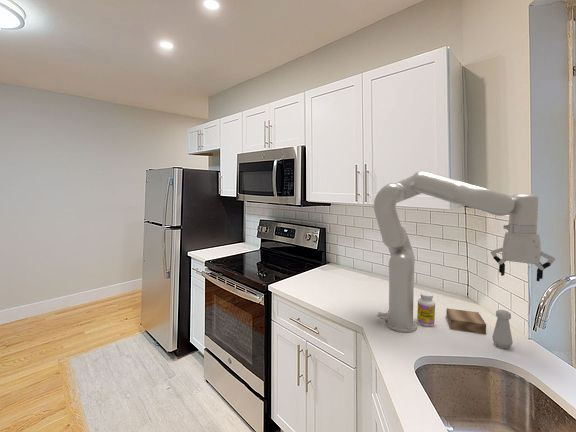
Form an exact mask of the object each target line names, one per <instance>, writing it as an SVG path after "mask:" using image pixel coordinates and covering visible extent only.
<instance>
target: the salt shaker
mask: <svg viewBox="0 0 576 432" xmlns="http://www.w3.org/2000/svg"><path fill="white" fill-rule="evenodd" d="M495 316H496V323H495V326H494V329H493V333H492V337H491V338H492V341H493V343H494V345H495V346H496V347H497V348H499V349H503V350H509V348H511V346H512V345H513V337H512V329H511V324H510V320H511V318H512V314H511V313H510V312H509V311H507V310H505V309H497V310H496V311H495Z"/></svg>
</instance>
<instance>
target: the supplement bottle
mask: <svg viewBox="0 0 576 432" xmlns="http://www.w3.org/2000/svg"><path fill="white" fill-rule="evenodd" d="M433 298H434V295H433V294H432V293H431V292H425V291H424V292H423V291H422V292H420V298H418V300H417V311H416V312H417V315H416V316H417V317H416V321H417V323H418V324H419V325H421V326H424V327H432V326H433V327H434V326H435V320H436V317H435V316H436V302H435V300H433Z"/></svg>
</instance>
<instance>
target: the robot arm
mask: <svg viewBox="0 0 576 432" xmlns="http://www.w3.org/2000/svg"><path fill="white" fill-rule="evenodd" d="M421 194H424V195H427V196H430V197H432V198H433V197H434V198H436V199H439V200H442V201H445V202H448V203H452V204H454V205H455V204H456V205H460V206H465V207H469V208H471V209H472V208H473V209H476V210H479V211H482V212H485V213H487V214H490V215H493V216H499V217H503V216H509V217H508V224H506V225H505V224H504V225H503V230H507V232H505V233H504V237H503V243H502V247H500V248H497V249H492V250H491V251H490V254H491V256H492V258H493V260H495V261H496V263H498V265H499V266H498V268H499V269H498V273H500V276H501V277H504V276H505V274H506V264H505V263H506V261H507V262H512V263H513V262H514V263H521V264H529V265H530V264H531V265H535V266H536V267H537V270H536V282H540V280H543V277H544V270H545V269H547V268H549V267H550V266H552V264H553V263H554V262H555V261H556V257H554V256H552V255H551V254H548V253H546V252H544V251H543V250H542V249H541V248H542V245H541V236H540V234H539V233H538V231H537V230H538V214H539V213H538V211H539V209H538V208H539V196H538V195H537V194H534V193H530V194H529V193H520V194H519V193H518V194H505V193H502V192H500V191H495V190H491V189H489V188H485V187H482V186H478V185H474V184H471V183H467V182H465V181H462V180H458V179H455V178H451V177H447V176H444V175H440V174H437V173H433V172H430V171H426V170H419V171H417V172H415V173H413V175H411V176H409V177H406V178H405V179H402V180H400V181H397V182H389V183H387V184H385V185H384V186H383V187H381V188H380V190H379V191H378V192H377V194H376V195H375V197H374V201H373V209H374V215H375V218H376V221H377V225H378V228H379V232H380V234H381V239H382V242H383V243H384V246H386V247H387V248H388V251H389V254H390V257H389V260H388V311H387V312H380V311H378V312H377V318H379V319H381V320H384V325H385V326H386V327H387V328H388V329H390V330H393V331H395V332H399V333H413V332H415V331H416V330H417V329H418V325H417V323H416V322H415V321H414V293H415V291H414V290H415V289H414V287H415V285H414V284H415V280H414V279H415V261H416V259H415V254H414V250H413V247H412V244H411V241H410V238H409V236H408V233H407V230H406V229H405V228H404V227H403V226H402V225H401V222H400V219H399V218H400V217H399V215H398V211H397V208H396V206H397V204H398V203H402V202H403V201H405V200H408V199H411V198H413V197H415V196H419V195H421ZM499 253H501V258H500V257H499V256H498V254H499ZM541 257H543V258H545V259H547V261H546V262H544V263H541Z"/></svg>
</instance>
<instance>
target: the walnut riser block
mask: <svg viewBox="0 0 576 432" xmlns="http://www.w3.org/2000/svg"><path fill="white" fill-rule="evenodd" d="M445 311H446V314H445V317H446V319H447V322H448V325H449V329H450V330H455V331H461V332H469V333H473V334H474V333H475V334H482V335H486V334H487V324H486V322H485V320H484V319H483V317H482V316H481V314H480V312H477V311H470V310H461V309H454V308H446V310H445Z"/></svg>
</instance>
